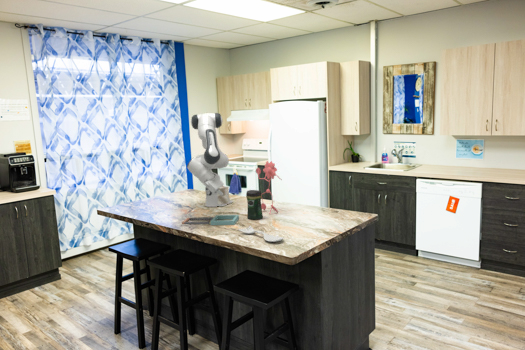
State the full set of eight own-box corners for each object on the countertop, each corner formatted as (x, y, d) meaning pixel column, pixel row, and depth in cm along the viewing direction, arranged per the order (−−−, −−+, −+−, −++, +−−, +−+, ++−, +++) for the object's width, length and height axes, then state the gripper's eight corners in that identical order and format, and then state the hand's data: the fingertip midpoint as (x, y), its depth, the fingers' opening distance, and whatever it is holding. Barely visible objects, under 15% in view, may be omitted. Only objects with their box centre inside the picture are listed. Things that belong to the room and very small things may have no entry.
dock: (210, 225, 254) (210, 221, 254) (216, 218, 269) (216, 215, 268) (234, 224, 252) (233, 220, 252) (238, 218, 267) (238, 214, 266)
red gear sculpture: (277, 216, 267) (275, 163, 262) (251, 210, 286) (249, 161, 282) (293, 212, 277) (292, 161, 272) (268, 207, 296) (266, 159, 292)
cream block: (218, 203, 257) (217, 188, 255) (220, 202, 261) (219, 186, 260) (227, 203, 256) (226, 188, 254) (229, 202, 261) (228, 186, 259)
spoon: (249, 230, 239) (249, 224, 239) (287, 241, 215) (286, 235, 214) (237, 233, 234) (237, 227, 233) (274, 245, 209) (273, 239, 209)
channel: (182, 224, 258) (181, 222, 258) (188, 219, 270) (187, 217, 270) (208, 224, 256) (208, 222, 256) (213, 219, 268) (213, 217, 267)
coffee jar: (264, 217, 266) (263, 189, 263) (257, 220, 260) (255, 191, 257) (253, 216, 272) (251, 188, 269) (245, 218, 265) (243, 190, 263)
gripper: (206, 177, 247) (223, 193, 247) (215, 173, 267) (230, 187, 267) (200, 185, 248) (216, 200, 248) (209, 179, 268) (224, 194, 268)
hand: (224, 193), depth 258 cm, fingers closed on cream block, 5 cm apart
